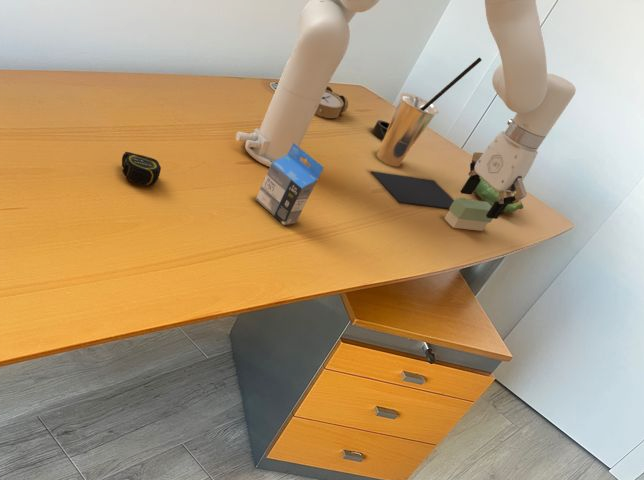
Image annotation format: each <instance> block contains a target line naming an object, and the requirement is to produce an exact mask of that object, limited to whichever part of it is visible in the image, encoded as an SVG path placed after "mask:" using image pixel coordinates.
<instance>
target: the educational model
mask: <svg viewBox="0 0 644 480" xmlns="http://www.w3.org/2000/svg"><path fill="white" fill-rule="evenodd" d="M480 179H481V180H480V182H479V184H478V186H477V187H476V189H475V190H474V193H475V194H476V195H477V197H479V199H481V201H484V202H488V203H489V204H490V205H491V206H493V204H494V203H495V201H499V191H496V190H495V189H493V188H492V187H491V186H490V185H489V184H488V183H487V182H485V181H484V180H483V179H482V178H481V177H480ZM515 194H516V191H515V192H513V195H512V196H514V195H515ZM505 198H506V193H505ZM523 209H524V204H523V201H522V199H521V200H519V201H518V202H517V203H513V204H511V205H507V206H506V208H505V209H504V210H503V212H502V213H508V214H511V213H515V212H516V211H518V210H523Z"/></svg>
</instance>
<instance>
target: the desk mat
mask: <svg viewBox="0 0 644 480" xmlns="http://www.w3.org/2000/svg"><path fill="white" fill-rule="evenodd" d="M370 173H371V175H373V176H374V177H375V178H376V180H377V181H378V182H379V183H380V184H381V185H382V186H383V187H384V188H385V189H386V190H387V191H388V193H389V194H390V195H391V196H392V197H393V198H394V199H395V200H396V201H397V202H398V204H405V205H413V206H421V207H429V208H436V209H445V210H449V208H450V206H451V205H452V203H453V202H454V200H455V199H454V198H452V197H451V196H450V195H449V194H448V193H447V191H445V190H444V189H443V188H442V187H441V186H440V185H439V184H438V183H437V182H436V181H435V180H433V179H426V178H419V177H412V176H407V175H399V174H392V173H386V172H379V171H373V170H372V171H371V172H370Z"/></svg>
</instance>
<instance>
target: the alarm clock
mask: <svg viewBox="0 0 644 480" xmlns="http://www.w3.org/2000/svg"><path fill="white" fill-rule="evenodd" d="M348 107H349V100H348V98H347V97H346V96H345V95H340V94H338V93H337V92H334V91H333V89H332V88H331V87H330V86H329V85H328V86H327V88H326V90H325V92H324V95H323V97H322V99H321V101H320V104H319V106H318V108H317V110H316V112H315V114H314V116H317V117H321V118H325V119H336V118H338V117H339V115H342V114H344V113H345V112H346V111H347V109H348Z"/></svg>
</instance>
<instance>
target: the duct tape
mask: <svg viewBox="0 0 644 480" xmlns="http://www.w3.org/2000/svg"><path fill="white" fill-rule="evenodd" d="M389 124H390V122H388V121H385V120H379V119H378V120H377V121H376V123H375V125H374V127H373V129H372V131H371V133H372V134H373V135H374V136H375V137H376V138H378V139H380V140H382V141H383V139H384V137H385V134H386V132H387V129H388V127H389Z"/></svg>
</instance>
